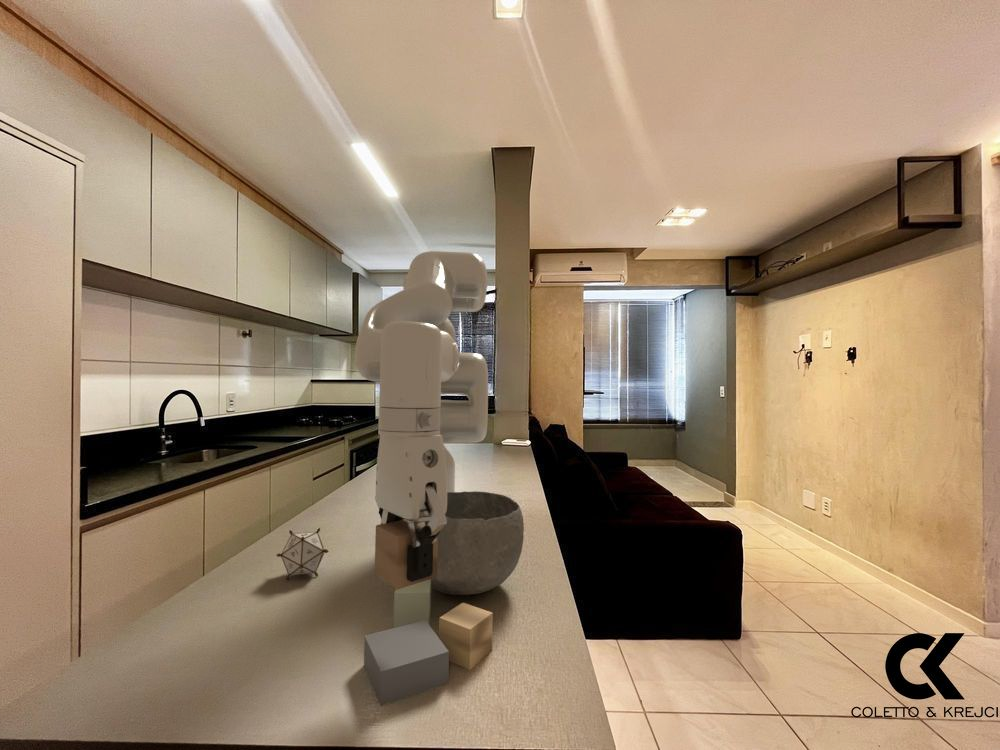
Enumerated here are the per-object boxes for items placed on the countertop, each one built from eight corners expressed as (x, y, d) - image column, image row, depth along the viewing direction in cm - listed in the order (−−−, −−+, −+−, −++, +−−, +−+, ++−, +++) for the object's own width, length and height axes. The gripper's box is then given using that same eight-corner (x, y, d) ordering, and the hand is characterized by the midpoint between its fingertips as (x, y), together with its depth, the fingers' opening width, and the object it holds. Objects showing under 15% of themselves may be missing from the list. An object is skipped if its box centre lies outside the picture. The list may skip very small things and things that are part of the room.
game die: (306, 599, 80) (304, 568, 75) (267, 578, 82) (263, 545, 76) (338, 559, 87) (339, 528, 82) (303, 540, 89) (301, 508, 84)
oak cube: (462, 638, 62) (462, 602, 63) (491, 650, 60) (492, 612, 60) (438, 656, 58) (439, 617, 58) (469, 670, 56) (470, 629, 56)
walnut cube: (413, 563, 59) (414, 517, 59) (437, 576, 55) (438, 527, 55) (374, 574, 55) (375, 525, 55) (396, 589, 51) (398, 536, 51)
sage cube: (430, 610, 70) (431, 577, 70) (428, 627, 65) (429, 592, 65) (397, 611, 70) (398, 578, 70) (393, 628, 65) (394, 593, 65)
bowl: (429, 630, 64) (432, 525, 65) (388, 576, 82) (390, 493, 82) (546, 598, 74) (547, 507, 75) (487, 556, 92) (488, 483, 93)
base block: (424, 650, 60) (425, 620, 60) (448, 685, 53) (448, 651, 53) (363, 668, 56) (364, 635, 56) (380, 708, 49) (381, 671, 49)
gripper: (476, 425, 52) (473, 584, 51) (401, 417, 65) (398, 544, 64) (421, 428, 47) (417, 604, 46) (351, 419, 60) (347, 557, 59)
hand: (406, 568), depth 55 cm, fingers closed on walnut cube, 5 cm apart
